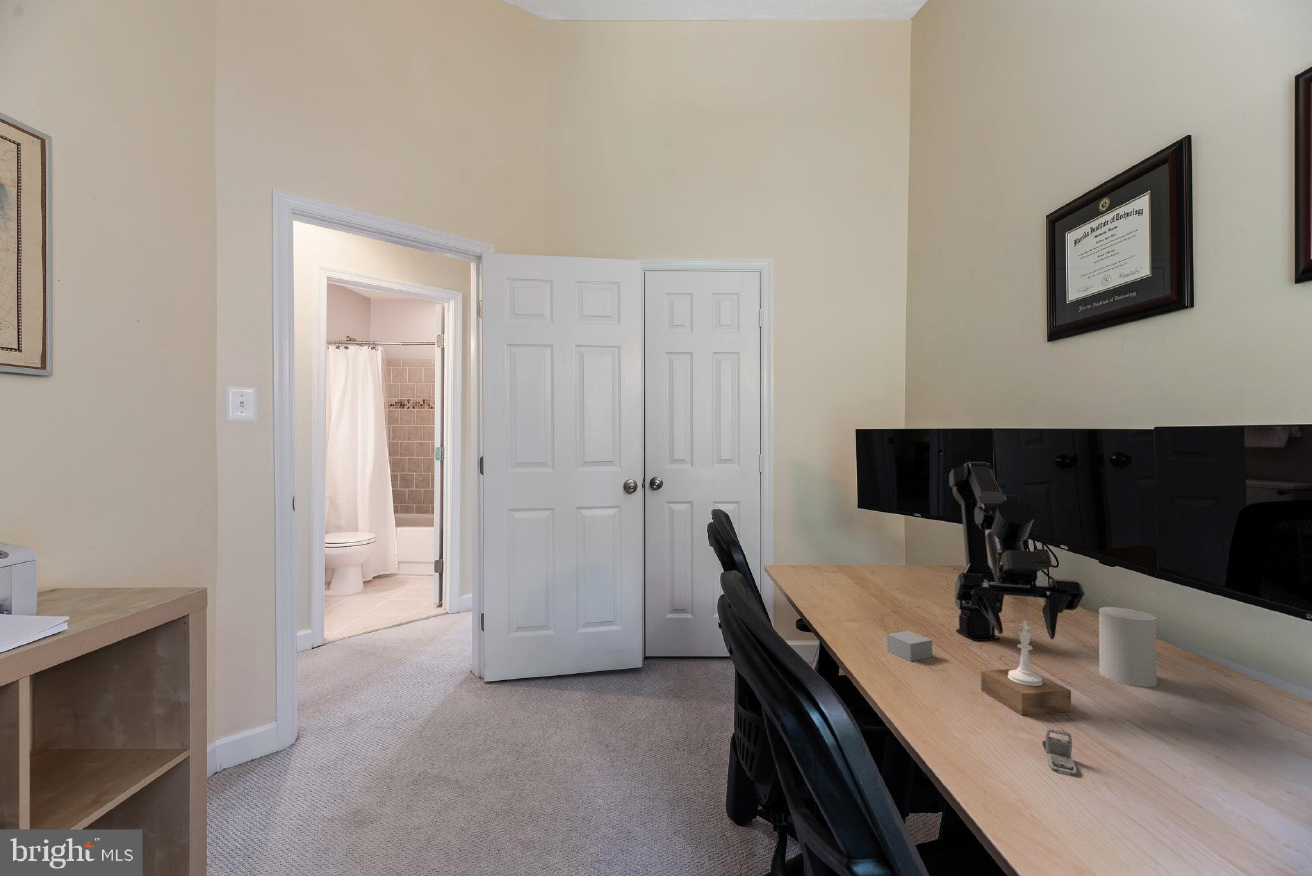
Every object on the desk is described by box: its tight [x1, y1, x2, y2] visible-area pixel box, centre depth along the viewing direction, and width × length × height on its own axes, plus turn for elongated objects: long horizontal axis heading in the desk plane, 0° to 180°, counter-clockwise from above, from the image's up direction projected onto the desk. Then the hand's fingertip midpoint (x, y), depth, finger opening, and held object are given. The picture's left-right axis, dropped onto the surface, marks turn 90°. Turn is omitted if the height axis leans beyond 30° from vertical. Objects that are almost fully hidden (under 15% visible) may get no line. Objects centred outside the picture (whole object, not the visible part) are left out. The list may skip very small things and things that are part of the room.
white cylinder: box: [1098, 606, 1157, 688], centre depth 103 cm, size 8×8×12 cm
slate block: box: [886, 630, 933, 662], centre depth 114 cm, size 6×6×4 cm
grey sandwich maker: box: [1041, 727, 1078, 777], centre depth 76 cm, size 8×3×4 cm, turn 152°
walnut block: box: [980, 668, 1072, 716], centre depth 94 cm, size 9×9×4 cm
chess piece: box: [1008, 620, 1043, 686], centre depth 94 cm, size 5×5×10 cm
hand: (1026, 635), depth 92 cm, fingers open, 7 cm apart
